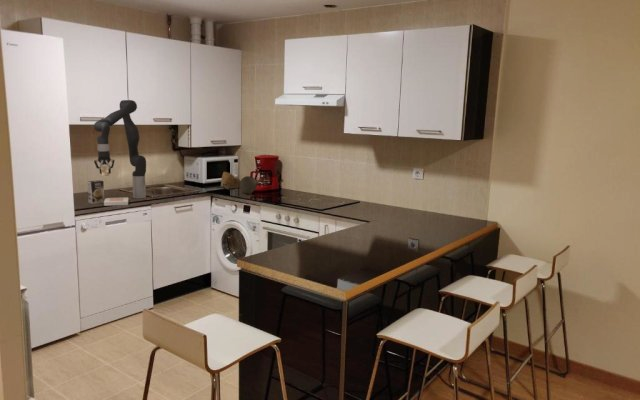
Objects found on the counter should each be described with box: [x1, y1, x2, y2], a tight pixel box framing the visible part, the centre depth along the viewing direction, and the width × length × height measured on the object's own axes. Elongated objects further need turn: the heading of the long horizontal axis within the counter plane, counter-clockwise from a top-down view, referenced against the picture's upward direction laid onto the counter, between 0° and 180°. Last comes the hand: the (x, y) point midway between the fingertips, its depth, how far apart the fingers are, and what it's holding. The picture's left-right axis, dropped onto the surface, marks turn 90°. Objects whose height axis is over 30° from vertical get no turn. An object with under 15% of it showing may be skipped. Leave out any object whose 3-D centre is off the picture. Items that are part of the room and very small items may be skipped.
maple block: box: [101, 166, 110, 177], centre depth 346 cm, size 4×4×6 cm
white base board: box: [103, 196, 129, 206], centre depth 357 cm, size 16×16×3 cm
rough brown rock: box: [220, 171, 241, 190], centre depth 439 cm, size 23×17×15 cm
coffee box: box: [87, 179, 105, 205], centre depth 355 cm, size 9×6×16 cm
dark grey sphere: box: [239, 175, 258, 195], centre depth 413 cm, size 14×14×15 cm
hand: (105, 174), depth 347 cm, fingers closed on maple block, 4 cm apart
